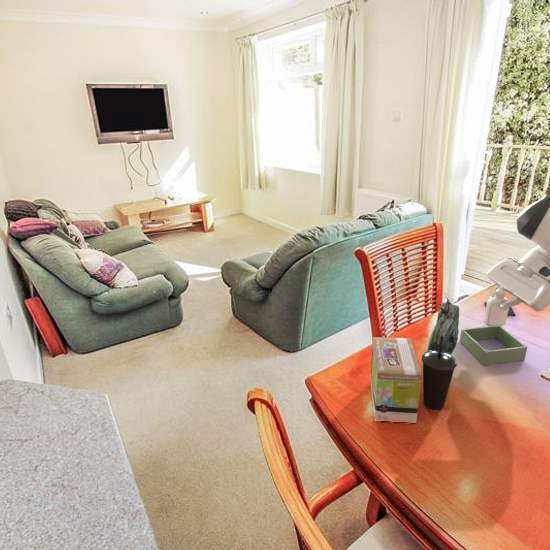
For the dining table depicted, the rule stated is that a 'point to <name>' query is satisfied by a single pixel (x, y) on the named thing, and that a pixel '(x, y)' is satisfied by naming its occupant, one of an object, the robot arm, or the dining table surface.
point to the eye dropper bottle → (496, 309)
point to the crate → (511, 354)
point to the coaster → (510, 311)
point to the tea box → (395, 379)
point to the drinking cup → (437, 376)
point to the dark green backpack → (445, 328)
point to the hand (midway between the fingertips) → (496, 304)
